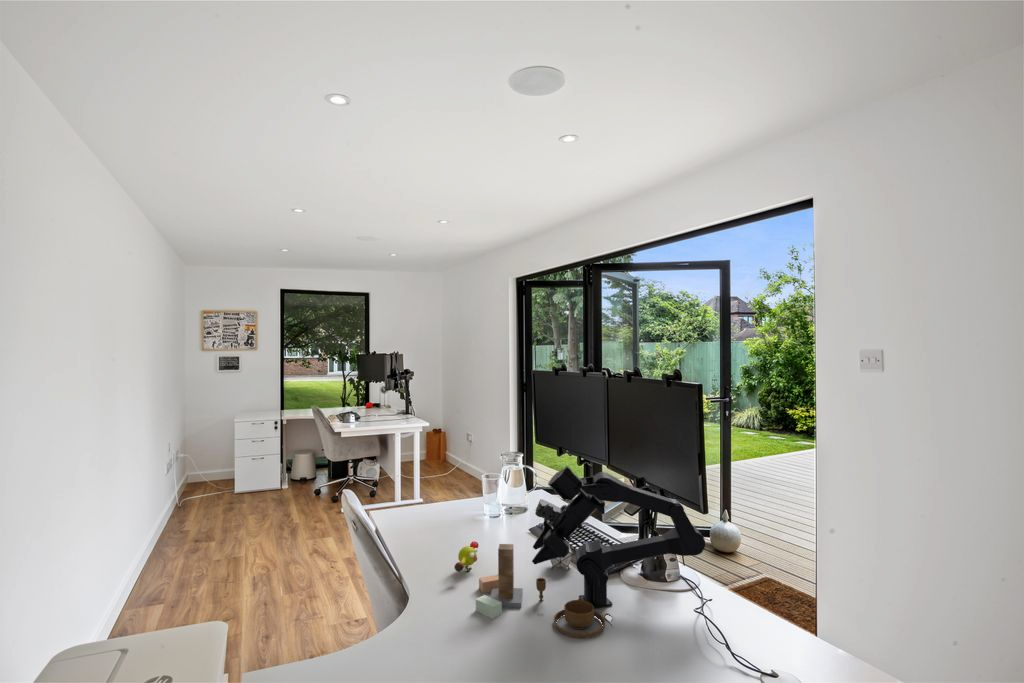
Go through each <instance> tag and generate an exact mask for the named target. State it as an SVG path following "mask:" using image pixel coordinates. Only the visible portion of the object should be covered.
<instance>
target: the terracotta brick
mask: <svg viewBox="0 0 1024 683" xmlns="http://www.w3.org/2000/svg"><path fill="white" fill-rule="evenodd" d="M492 588H498V574H494V575H493V574H492V575H488V576H484V577H483V576H482V577H479V578H478V589H479V590H480V592H481V593H482V594H486V592H487V593H491V591H492Z"/></svg>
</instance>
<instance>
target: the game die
mask: <svg viewBox="0 0 1024 683" xmlns="http://www.w3.org/2000/svg"><path fill="white" fill-rule="evenodd" d="M567 541H568V540H567ZM569 542H570V540H569V541H568V543H569ZM575 554H576V553H573V551H572V548H571V546H570V543H569V553H568V554H567V555H566V556H565V557H564V558H562V557H561V558H559V557H558V558H554V559H551V560H550V563H551V565H552V566H551V570H553V569H554V568H567V570H569V571H570V570H571V568H570V563H571V562H572V559H573V556H575Z"/></svg>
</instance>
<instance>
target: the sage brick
mask: <svg viewBox="0 0 1024 683" xmlns="http://www.w3.org/2000/svg"><path fill="white" fill-rule="evenodd" d="M502 608H503V607H502V602H500V601H497V600H495V599H493V598H490V596H488V595H486V594H483V595H482V596H480V597H478V598H476V599H475V611H476V612H478V613H480V614H482V613H483V614H482V615H484V614H485V615H484V616H486V615H487V617H488V618H491V619H493V618H494V619H496V618H497V617H499V616H501V615H502V614H503V609H502Z"/></svg>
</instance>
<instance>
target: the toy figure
mask: <svg viewBox="0 0 1024 683" xmlns="http://www.w3.org/2000/svg"><path fill="white" fill-rule="evenodd" d="M478 549H479V543H478V542H477V541H472V542H470V544H469V546H468V545H467V546H463V547H462V548H460V550H459V552H458V560H459V561H458V562H456V563H455V564H454V570H455V571H456V572H462V571H463V570H464V572H465V571H467V572H466V573H468V571H469V572H471V570H472V567H470V566H471V565H473V564H474V563H475V562H477V561H478V556H477V553H478ZM468 569H470V570H468Z"/></svg>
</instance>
